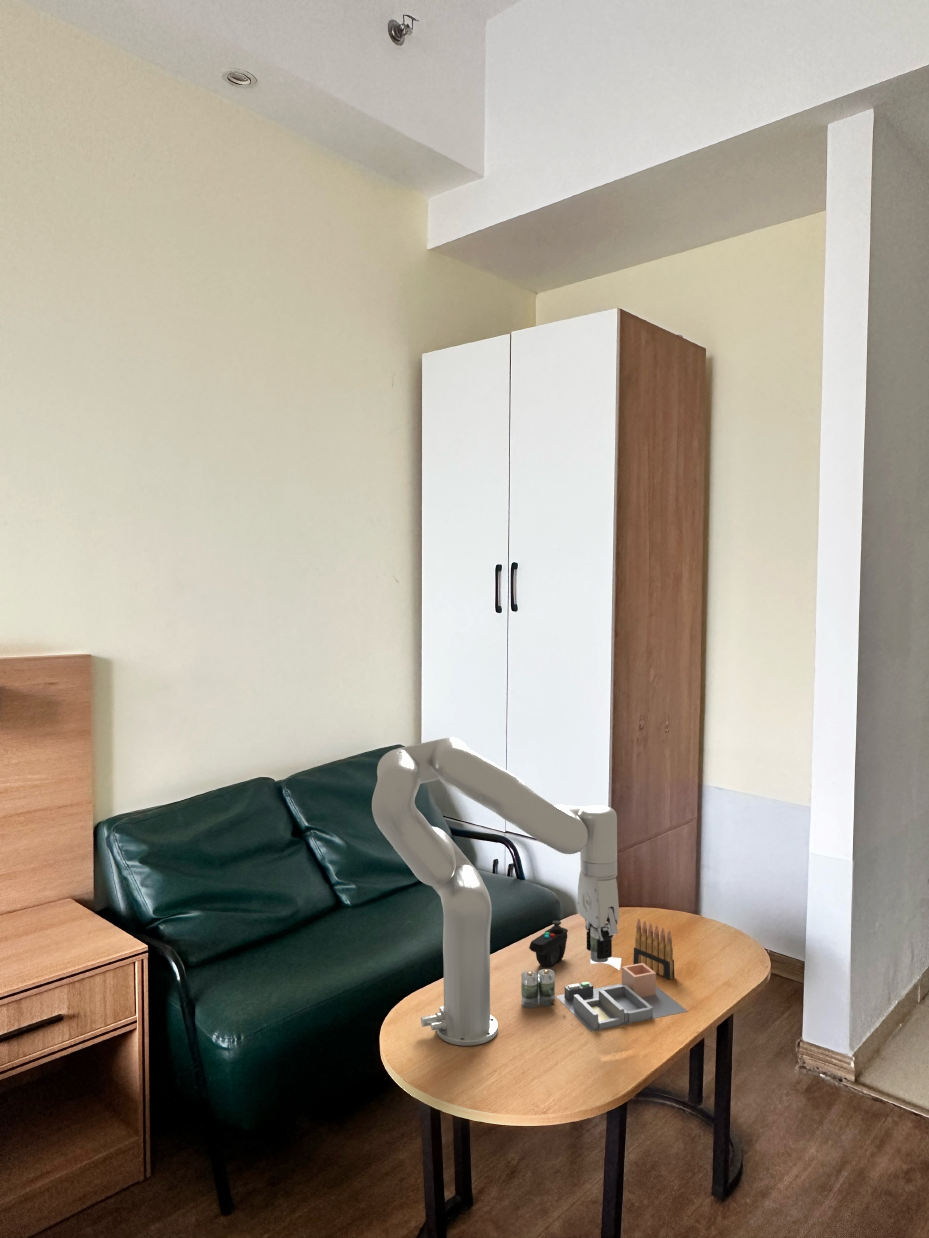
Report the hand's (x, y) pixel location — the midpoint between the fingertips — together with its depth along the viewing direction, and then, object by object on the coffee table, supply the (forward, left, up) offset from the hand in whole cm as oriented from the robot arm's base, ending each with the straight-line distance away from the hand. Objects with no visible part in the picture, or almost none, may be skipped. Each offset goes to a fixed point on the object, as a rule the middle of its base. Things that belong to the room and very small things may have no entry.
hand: (599, 952), depth 184 cm
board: (+7, +3, -14) cm, 16 cm away
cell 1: (-11, +12, -15) cm, 21 cm away
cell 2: (-7, +11, -15) cm, 19 cm away
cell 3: (0, 0, -1) cm, 1 cm away
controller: (+1, +26, -15) cm, 30 cm away
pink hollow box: (+13, +7, -13) cm, 20 cm away
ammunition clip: (+22, +14, -15) cm, 30 cm away
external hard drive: (+12, +19, -15) cm, 27 cm away
